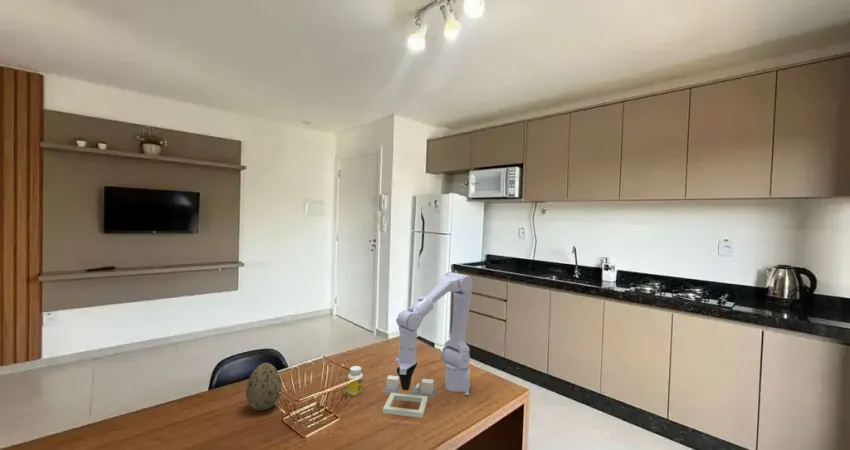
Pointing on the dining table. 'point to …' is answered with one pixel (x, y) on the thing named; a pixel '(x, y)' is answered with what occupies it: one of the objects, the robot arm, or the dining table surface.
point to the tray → (404, 411)
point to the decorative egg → (263, 387)
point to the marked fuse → (409, 387)
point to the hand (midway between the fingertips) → (406, 387)
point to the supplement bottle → (355, 382)
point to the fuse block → (418, 390)
